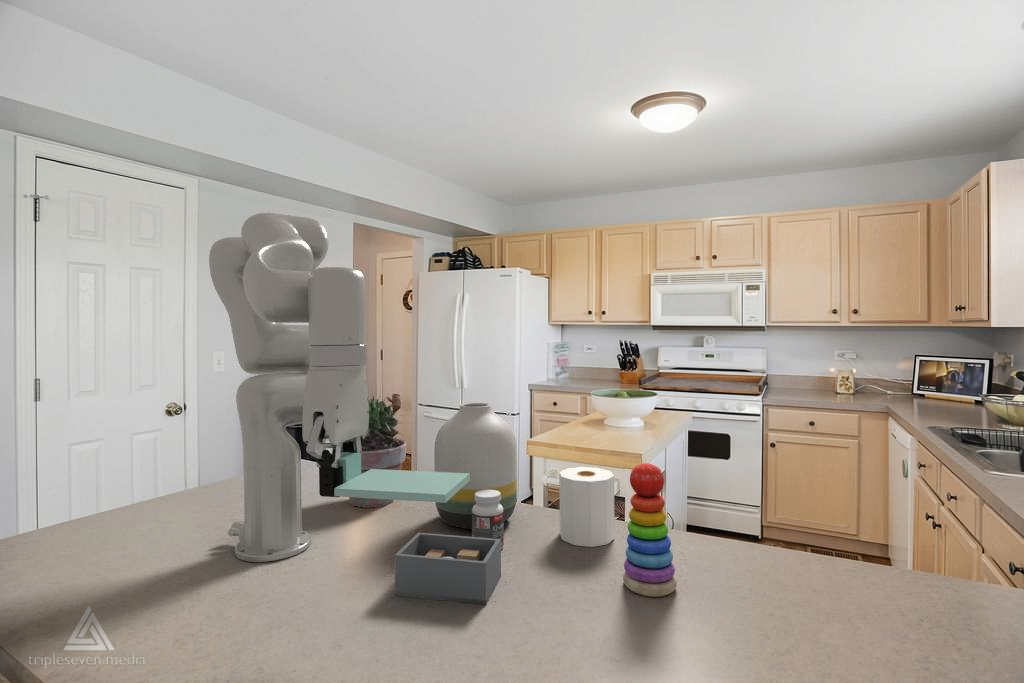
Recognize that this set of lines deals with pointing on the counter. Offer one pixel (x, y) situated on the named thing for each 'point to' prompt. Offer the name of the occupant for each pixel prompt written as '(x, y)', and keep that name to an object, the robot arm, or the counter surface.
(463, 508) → the vase
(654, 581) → the stacking toy
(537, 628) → the counter surface
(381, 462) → the potted plant
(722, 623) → the counter surface
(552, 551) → the counter surface
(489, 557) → the tub
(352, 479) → the mint slab with cube
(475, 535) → the pill bottle
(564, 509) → the toilet paper
